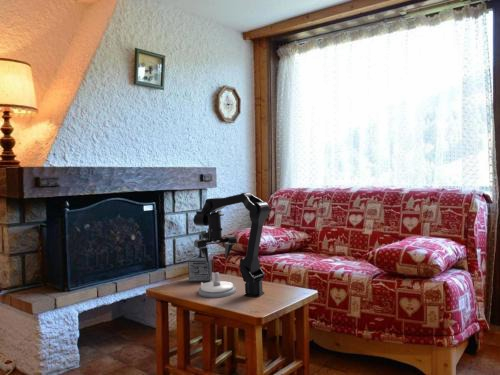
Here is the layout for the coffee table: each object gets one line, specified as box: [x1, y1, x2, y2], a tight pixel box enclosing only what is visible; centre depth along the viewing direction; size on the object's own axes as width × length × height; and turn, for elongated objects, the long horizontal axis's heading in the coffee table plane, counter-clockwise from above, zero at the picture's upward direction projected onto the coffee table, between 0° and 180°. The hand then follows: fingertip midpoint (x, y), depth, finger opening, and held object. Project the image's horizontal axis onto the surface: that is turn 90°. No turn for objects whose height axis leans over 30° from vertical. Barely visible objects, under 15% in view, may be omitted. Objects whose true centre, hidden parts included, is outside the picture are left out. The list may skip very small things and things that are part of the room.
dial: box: [200, 272, 234, 293], centre depth 184 cm, size 14×14×5 cm
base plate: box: [198, 282, 236, 299], centre depth 184 cm, size 16×16×4 cm
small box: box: [187, 257, 213, 283], centre depth 205 cm, size 11×6×10 cm, turn 84°
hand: (216, 260), depth 190 cm, fingers open, 9 cm apart
